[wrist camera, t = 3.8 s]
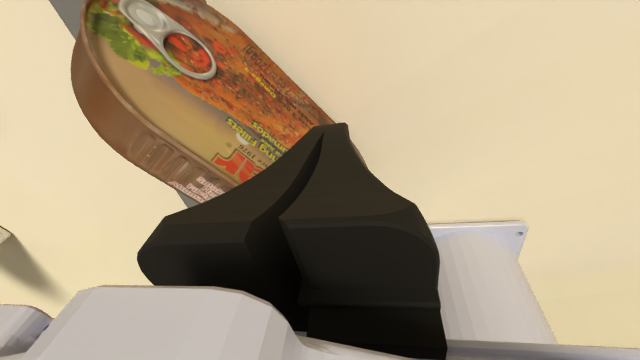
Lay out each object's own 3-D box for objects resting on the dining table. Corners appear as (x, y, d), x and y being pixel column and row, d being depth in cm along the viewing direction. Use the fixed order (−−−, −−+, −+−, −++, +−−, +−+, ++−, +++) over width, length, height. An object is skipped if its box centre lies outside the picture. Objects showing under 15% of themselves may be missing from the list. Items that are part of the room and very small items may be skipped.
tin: (379, 166, 19) (394, 283, 12) (343, 188, 20) (340, 302, 14) (175, -40, 12) (-11, -13, 6) (146, 16, 14) (-25, 83, 8)
